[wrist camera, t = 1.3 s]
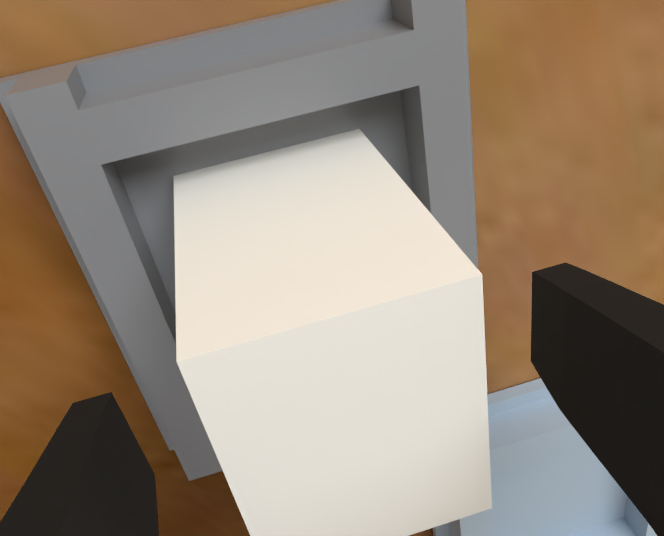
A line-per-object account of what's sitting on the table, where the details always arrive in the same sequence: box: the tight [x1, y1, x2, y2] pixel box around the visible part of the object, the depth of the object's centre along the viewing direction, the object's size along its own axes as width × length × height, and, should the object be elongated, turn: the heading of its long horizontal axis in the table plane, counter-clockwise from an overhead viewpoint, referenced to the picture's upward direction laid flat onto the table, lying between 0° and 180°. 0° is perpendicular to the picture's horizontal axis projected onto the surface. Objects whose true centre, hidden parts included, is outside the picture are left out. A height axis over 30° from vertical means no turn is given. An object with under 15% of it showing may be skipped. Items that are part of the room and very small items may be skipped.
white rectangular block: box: [173, 129, 492, 536], centre depth 11 cm, size 4×5×6 cm
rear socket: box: [433, 378, 657, 536], centre depth 21 cm, size 9×10×2 cm
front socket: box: [0, 0, 478, 481], centre depth 14 cm, size 9×10×2 cm
